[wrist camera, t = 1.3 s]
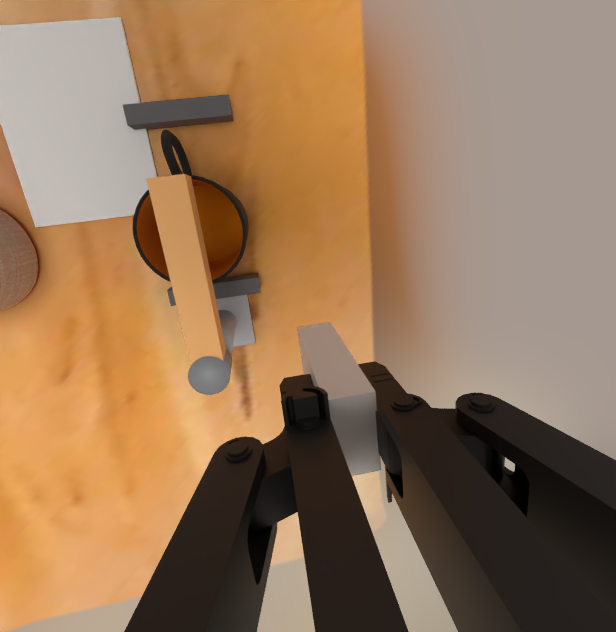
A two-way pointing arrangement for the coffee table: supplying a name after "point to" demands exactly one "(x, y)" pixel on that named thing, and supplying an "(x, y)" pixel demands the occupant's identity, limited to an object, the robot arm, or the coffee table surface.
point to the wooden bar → (191, 281)
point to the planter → (15, 262)
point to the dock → (226, 290)
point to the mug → (214, 213)
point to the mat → (73, 120)
